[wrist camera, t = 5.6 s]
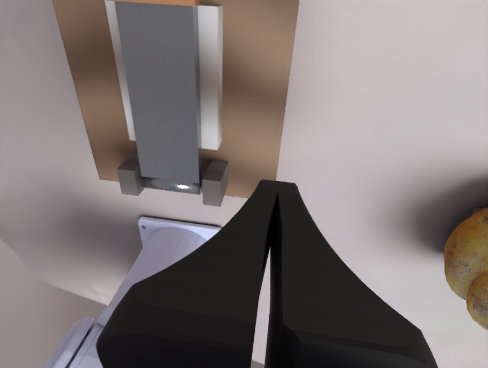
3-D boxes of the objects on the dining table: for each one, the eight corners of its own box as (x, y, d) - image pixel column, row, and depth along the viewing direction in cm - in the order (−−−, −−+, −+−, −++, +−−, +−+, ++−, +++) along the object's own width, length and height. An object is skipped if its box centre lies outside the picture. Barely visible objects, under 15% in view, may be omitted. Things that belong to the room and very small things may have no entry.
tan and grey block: (206, 188, 21) (200, 200, 20) (146, 181, 21) (138, 192, 20) (201, -57, 14) (192, -63, 12) (111, -62, 14) (94, -68, 13)
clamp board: (274, 190, 24) (269, 232, 19) (109, 169, 25) (71, 205, 21) (311, -100, 14) (318, -138, 10) (43, -107, 15) (-49, -144, 11)
